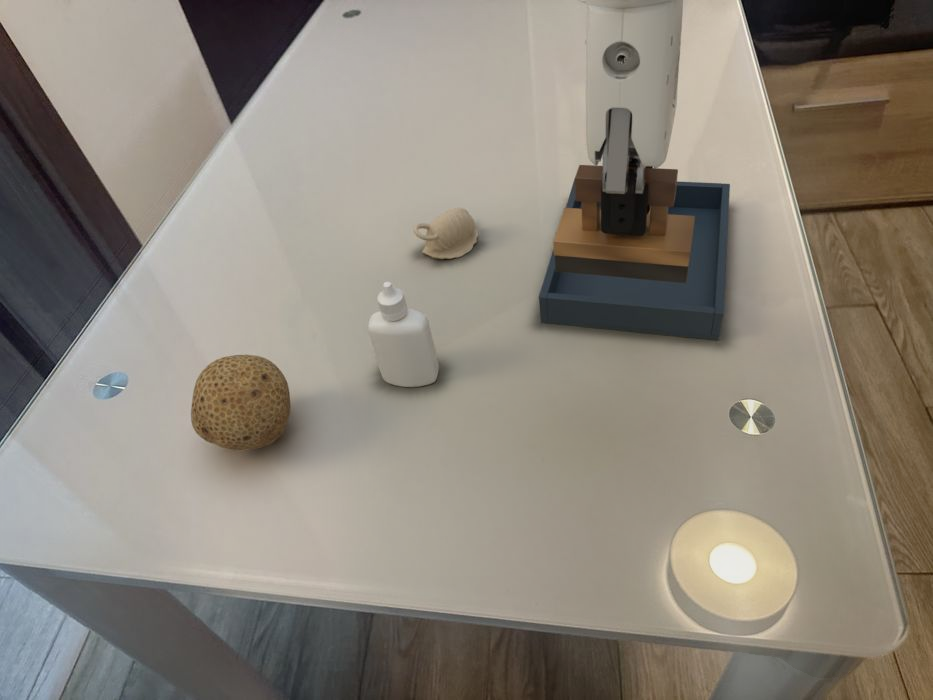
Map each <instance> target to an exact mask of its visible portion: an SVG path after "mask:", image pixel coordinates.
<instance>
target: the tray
mask: <svg viewBox="0 0 933 700" xmlns="http://www.w3.org/2000/svg"><path fill="white" fill-rule="evenodd" d="M730 190H731V184H730V183H722V182H720V183H719V182H702V181H701V182H699V181H678V180H677V186H676V195H675V201H674V206H673V207H669V209H668V214H670V215H686V216H695V221H694V229H693V237H692V245H691V253H690V260H689V268H688V275H687V282H686V283H676V282H665V281H654V280H643V279H632V278H621V277H610V276H599V275H588V274H577V273H566V272H556V271H555V255H554V247H553V249H552V252H551V255H550V259H549V262H548V265H547V268H546V272H545V275H544V278H543V282H542V285H541V289H540V291H539V295H538V304H539V305H538V306H539V307H538V308H539V320H540V323H541V324H549V325H550V324H551V325H559V326H560V325H561V326H571V327H582V328H591V329H601V330H611V331H621V332H631V333H639V334H640V333H641V334H650V335H651V334H652V335H661V336H670V337H681V338H688V339H689V338H690V339H699V340H709V341H711V340H712V341H719V340H720V336H721V331H722V324H723V320H724V314H725V294H726V293H725V292H726V272H727V253H728V252H727V251H728V233H729V232H728V231H729V212H730V193H731V191H730ZM565 208H576V209H582V201H576V200H575V178H574V179H573V181H572V186H571V188H570V192H569V196H568V199H567V203H566V205H565ZM600 210H601V203H600Z"/></svg>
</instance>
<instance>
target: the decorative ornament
mask: <svg viewBox="0 0 933 700" xmlns="http://www.w3.org/2000/svg"><path fill="white" fill-rule="evenodd" d="M419 229H425V230H426V232H425V234H422V233H420V232H419ZM413 234H414V235H415V236H416V237H417V238H419V239H420V240H423V241H425V246H424V247H423V249H422V250H421V252H422V254H425V255H426V256H429V257H432V258H433V259H439V260H444V259H447V260H451V259H457V258H461V257H463V256H465V255H466V254H468V253H470V252H471V251H472V249H473V247H474V245H475V244H477V238H479V232H478V230H477V228H476V225H475V220H474V218H473V216H472V215H471V214H470V212H469V211H468V210H466V209H465V208H463V207H455V208H452V209H449V210H447V211H446V212H444V213H442V214H440V215H438V216H436V218H435V219H433V220H432V221H431V222H430V223H426V222H424V223H423V222H421V223H417V224H416V225H414V227H413Z"/></svg>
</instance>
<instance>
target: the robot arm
mask: <svg viewBox="0 0 933 700" xmlns="http://www.w3.org/2000/svg"><path fill="white" fill-rule="evenodd" d="M578 1H579V2H581V3H583V4H586V32H585V33H586V35H585V41H584V42H585V43H584V44H585V135H586V136H585V137H586V152H587V158H588V160H589V161H590V162H591V164H593V165H595V166H598V164H599V163H601V161H602V166H603V181H602V186H601V231H602V232H603V233H605V234H617V235H631V236H643V235H644V234H645V231H646V220H647V214H648V213H649V211H650V206H649V205H647V204H648V187H649V186H644V184H645V168H660V167H661V166H662V165H663V164H664V163H665V162H666V160H667V156H668V152H669V148H670V143H671V138H672V133H673V128H674V122H675V117H676V113H677V112H676V111H677V104H678V87H679V71H680V57H681V56H680V55H681V45H682V44H681V43H682V31H683V30H682V29H683V13H684V12H683V11H684V10H683V9H684V0H578ZM629 167H636V173H635V169H629Z"/></svg>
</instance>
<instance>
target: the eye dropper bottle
mask: <svg viewBox="0 0 933 700" xmlns="http://www.w3.org/2000/svg"><path fill="white" fill-rule="evenodd" d="M382 289H383V290H381V291H380V292H379V293H378V294H377V297H376V299H377V300H376V301H377V305H378V308H379V310H377V311H376V312H374V313H372V315H371V316H370V319H369V321H368V325H367V331H368V336H369V339H370V343H371V346H372V349H373V352H374V355H375V360H376V361H377V365H378V369H379V371H380V375H381V378H382V380H383V381H384V382H385V383H387V384H390V385H393V386H396V387H401V388H402V387H403V388H418V387H425V386H428V385H431V384H433V383H435V382H436V380H437V378H438V375H439V370H440V365H439V361H438V357H437V351H436V347H435V342H434V338H433V334H432V330H431V325H430V322H429V318H428V316H427V315H426V314H425V313H424V312H421V311H420V310H418V309H414V308H412V307H408V305H407V302H406V298H405V293H404V291H403V290H402V289H400V288H398V287H394V286H393V284H392V283H391V282H390V281H385V282H384V283H383V284H382Z"/></svg>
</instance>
